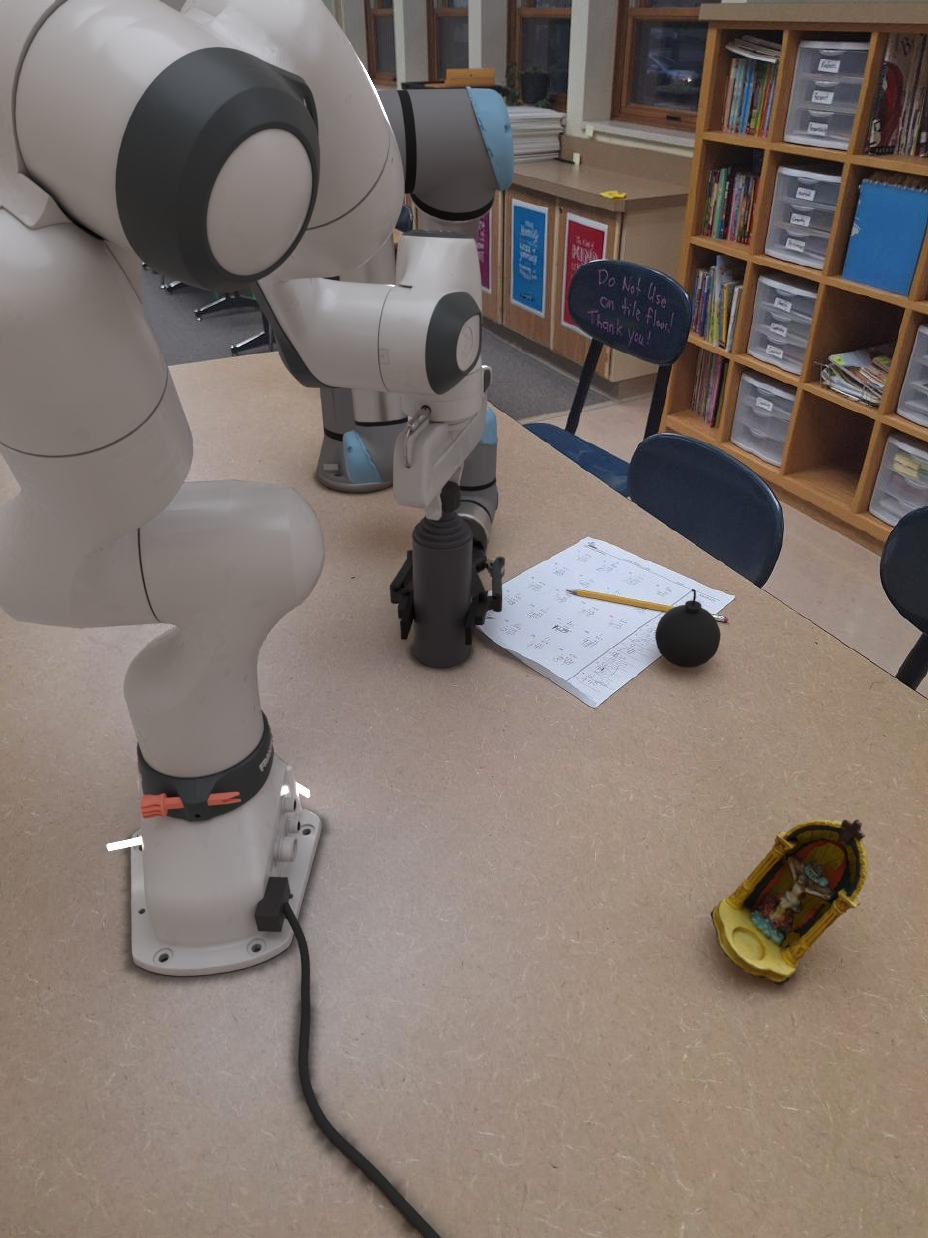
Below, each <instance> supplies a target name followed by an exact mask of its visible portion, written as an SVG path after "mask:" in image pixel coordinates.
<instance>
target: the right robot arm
mask: <svg viewBox="0 0 928 1238" xmlns="http://www.w3.org/2000/svg"><path fill="white" fill-rule="evenodd" d="M376 92H377V95H378V97H379V99H380V102H381V104H382V106H383V109H384V111H385V114H386V116H387V119H388V121H389V123H390V126H391V128H392V131H393V133H394V136H395V139H396V142H397V145H398V148H399V152H400V156H401V160H402V166H403V173H404V186H405V190H404V195H409V198H410V201H411V202H412V204H413V206H414V207H415V208H416V209H417V210H418V211H419V212H418V225H417V226H418V227H417V230H438V231H455V232H462V233H465V234H468V235H469V236H470V237H472V238H473V239H474V240H475V242H476V246H477V245H478V237H479V231H480V223H481V219H482V218H483V217H485V216H486V215H487V214H488V213H490V211H491V210H492V208H493V206H494V201H495V196H496V191H497V190H498V191H499V192H503V191H505V190H508V189H510V187H511V185H513V181H514V174H515V173H514V172H515V150H514V149H515V147H514V140H513V139H514V138H513V130H512V126H511V120H510V115H509V112H508V111H509V110H508V108H507V105H506V102H505V100H504V99H503V97H502V95H501V94H500V93H499V92H498V91H497V90H495V89H492V88H476V87H475V88H474V87H473V88H472V87H471V86H468V85H467V86H465V88H430V89H429V88H428V89H427V88H425V89H423V88H422V89H420V88H419V89H416V88H415V89H395V88H388V89H381V90H376ZM477 247H478V246H477ZM395 252H396V251H395V239H394V231H393V232H392V233H391V235H390V237H389V238H388V240H387V241H386V242H385V244H384V245H383V246H382V247H381V249H380V250H379V251H378V252H377V253H376V254H375V255H374V256H373V257H372V258H371V259H370V260H368V261H367V262H366V263H364V264H363V265H361V266H360V267H358V268H357V269H355V270H353V271H351V272H348V273H346V274H343V275H339V276H338V277H339V281H345V282H358V283H372V284H386V285H395V277H396V253H395ZM319 394H320V405H321V416H322V426H323V439H322V443H321V448H320V451H319V455H318V460H317V466H316V468H317V469H316V470H317V478H318V480H319V482H320V483H321V484H322V485H323V486H325V487H327V488H329V489H331V490H334V491H337V492H342V493H354V494H355V493H357V494H358V493H371V492H375V491H380V490H383V489H386V488H389V487H391V486H393V459H394V448H395V443H396V440H397V437H398V436H399V434H400V433H401V432H402V431H403V430H404V429H405V426H406V423H407V422H408V421H409V416H408V415H406V414H405V413H403V411H402V410H401V408H400V394H399V393H396V392H393V393H392V392H382V391H372V390H362V389H352V388H342V387H340V388H319ZM498 438H499V437H498V424H497V414H496V413H495V411H494V409H492V408H491V407H490V406H488V405H487V415H486V425H485V430H484V434H483V437H482V439H481V440H480V442H479V443H478V444H477V445H476V447H475V448H474V449H473V450H472V452H471V453H470V454H469V455H468V457H467V458H466V459H465V460H464V466H463V471H462V475H461V479H460V493H461V504H460V507H459V508H458V509H457V510H455V512H456V513H457V514H458V515H459V516H460V517H461V518H462V519H463V520H464V521H465V522H466V523H467V524H468V525H469V527H470V529H471V531H472V534H473V541H472V579H471V605H470V609H469V613H468V617H467V621H466V626H465V645H470V646H472V644H473V643H472V642H473V639H474V635H475V631H476V626H479V627H483V626H484V625H485V623H486V619H487V613H488V612H490V611H493V612H494V613H500V612H502V611H503V578H504V576H505V572H506V571H505V570H506V558H505V557H504V556H497V557H495V559H489V558H488V557H487V550H488V546H489V545H488V544H489V543H490V537H491V532H492V527H493V524H494V519H495V516H496V511H497V510H498V506H499V488H498V485H497V458H498V457H497V455H498V442H499V439H498ZM485 570H487V573H488V574H489V577H490V578H491V595H489V590H486V588H485V586H484V584H483V582H482V579H481V578H480V575H479V574H480V573H482V572H484V571H485ZM389 596H390V597H389V598H390V603H391V604H392V605H397V618H398V619H400V621H399V627H400V640H401V641H402V640H403V641H408V638H409V636H410V632H411V629H412V626H413V624H414V598H413V551H412V549H408V550H407V551H406V559H405V561H404V562H403V564H402V566H401V567H400V568H399V570H398V572H397V573H396V575H395V576H394V578H393V580H392V581H391V583H390V585H389Z"/></svg>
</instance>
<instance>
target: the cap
mask: <svg viewBox="0 0 928 1238" xmlns="http://www.w3.org/2000/svg"><path fill="white" fill-rule="evenodd" d="M440 499H441V501H444V513H449V512H453V511H455V510H457V509H458V508H459V507H460V504H461V493H460V486H459V485H458V484H457V483H455V482H452V481H447V483H446V484H445V485H444V486H443V488H442V492H441V494H440Z"/></svg>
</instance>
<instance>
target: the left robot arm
mask: <svg viewBox="0 0 928 1238" xmlns="http://www.w3.org/2000/svg"><path fill="white" fill-rule="evenodd" d="M404 190H405V186H404V173H403V166H402V160H401V156H400V152H399V148H398V145H397V142H396V139H395V136H394V133H393V131H392V128H391V126H390V123H389V121H388V119H387V116H386V114H385V111H384V109H383V106H382V104H381V102H380V99H379V97H378V95H377V90H376V88H375V85H374V84H373V82H372V80H371V78H370V76H369V74H368V72H367V70H366V68H365V66H364V64H363V63H362V61H361V60H360V58H359V56H358V54H357V52H356V50H355V48H354V46H353V45H352V44H351V41H350V40H349V38H348V36H347V35H346V34H345V32H344V31H343V29H342V28H341V26H340V24H339V23H338V21H337V19H336V18H335V17H334V15H333V14H332V13H331V11H330V10H329V9H328V7H327V6H326V4H325V3H324V1H323V0H185V2H184V4H183V5H182V6H181V9H180V10H179V11H178V10H176V9H175V8H173V7H171V6H170V5H168V4H166V3H165V2H164V1H163V0H0V455H1V457H2V458H3V459H4V461H5V463H6V465H7V466H8V468H9V470H10V471H11V473H12V475H13V477H14V478H15V480H16V482H17V484H18V486H19V487H20V490H21V491H19V492H18V494H17V495H15V496H14V497H12V498H11V499H9V500H7V501H5V502H4V503H2V504H1V505H0V608H1V609H2V611H3V612H4V613H5V614H7V615H8V616H9V617H10V618H12V619H13V620H15V621H16V622H22V623H28V624H36V625H42V626H49V627H50V626H51V627H60V628H69V629H71V628H72V629H78V630H79V629H80V630H81V629H83V630H84V629H95V628H96V629H97V628H98V629H99V628H112V627H127V626H142V625H156V624H157V625H158V624H164V625H173V627H171V628H169V629H168V630H166V631H164V632H162V633H161V634H159V635H157V636H156V637H154V638H152V640H150V641H149V642H147V644H146V645H145V646H144V647H142V649H141V650H139V652H138V653H137V654H135V656H134V658H133V659H132V660H131V662H130V663H129V665H128V667H127V669H126V671H125V675H124V680H123V681H124V682H123V697H124V701H125V703H126V707H127V711H128V714H129V717H130V721H131V724H132V727H133V730H134V733H135V736H136V740H137V743H136V744H137V745H136V756H137V758H136V759H137V762H136V763H137V772H138V778H137V780H136V782H135V783H136V785H137V788H138V791H139V807H140V810H139V811H140V828H139V829H137V830H136V831H135V832H134V833H133V834H132V836H131V838H130V839H126V840H121V841H116V842H112V843H106V848H107V850H108V852H110V851H111V852H112V851H114V850H120V849H125V848H129V847H130V916H131V917H130V924H131V925H130V926H131V927H130V928H131V931H130V933H131V934H130V935H131V955H132V960H133V963H134V965H136V966H137V967H139V968H140V969H143V970H146V971H148V972H150V973H153V974H160V975H164V976H174V977H175V976H176V977H194V976H206V975H216V974H222V973H223V974H224V973H228V972H234V971H238V970H243V969H246V968H250V967H253V966H256V965H258V964H261V963H264V962H266V961H268V960H271V959H272V958H274V957H276V956H278V955H280V954H281V953H282V952H284V951H285V950H287V949H288V948H289V947H290V945H291V944H292V942H293V941H292V940H293V937H295V940H296V943H297V947H298V950H299V957H300V1005H301V1006H300V1028H299V1029H300V1030H299V1039H298V1040H299V1042H298V1073H299V1074H298V1075H299V1081H300V1085H301V1089H302V1090H301V1091H302V1094H303V1097H304V1100H305V1103H306V1106H307V1107H308V1110H309V1112H310V1114H311V1116H312V1118H313V1120H314V1121H315V1123H316V1124H317V1126H318V1128H319V1129H320V1130H321V1132H322V1133H323V1134H324V1136H325V1137H326V1138H327V1139H328V1140H329V1141H330V1142H331V1143H332V1145H334V1146H335V1147H336V1149H338V1150H339V1151H340V1152H341V1153H342V1154H343V1155H344V1156H345V1157H346V1158H347V1159H348V1160H350V1162H352V1163H353V1164H354V1165H355V1166H356V1167H357V1168H358V1169H359V1170H360V1171H361V1172H363V1173H364V1174H365V1176H366V1177H368V1178H369V1180H370V1181H371V1182H372V1183H373V1184H374V1185H375V1187H377V1188H378V1190H380V1192H381V1193H382V1194H383V1195H384V1196H385V1197H386V1198H387V1199H388V1200H389V1202H390V1203H391V1204H392V1205H393V1206H394V1207H395V1208H396V1209H397V1210H398V1212H399V1213H400V1214H401V1215H402V1216H403V1217H404V1218H405V1219H406V1221H408V1222H409V1223H410V1225H411V1226H412V1227H413V1228H415V1230H416V1231H417V1232H418V1233H419V1234H420V1235H421V1236H422V1237H423V1238H442V1237H441V1235H440V1234H439V1233H438V1232H437V1231H436V1230H435V1229H434V1228H433V1227H432V1226H431V1225H430V1223H428V1222H427V1221H426V1219H424V1217H423V1216H421V1214H419V1212H418V1211H417V1210H416V1209H415V1208H414V1207H413V1206H412V1205H411V1203H409V1202H408V1201H407V1200H406V1198H405V1197H404V1196H403V1195H402V1194H401V1193H400V1192H399V1191H398V1190H397V1188H396V1187H395V1186H394V1185H392V1183H391V1182H390V1181H389V1180H388V1179H387V1178H386V1176H384V1174H383V1173H382V1172H381V1171H380V1170H379V1169H378V1168H377V1167H376V1166H375V1165H374V1164H373V1163H372V1162H371V1161H370V1160H369V1159H367V1158H366V1157H365V1155H363V1153H361V1152H360V1151H359V1150H358V1149H357V1148H356V1147H354V1146H353V1144H351V1143H350V1142H349V1141H348V1140H347V1139H346V1138H345V1137H344V1136H342V1135H341V1133H340V1132H339V1131H338V1130H337V1129H336V1128H335V1127H334V1126H333V1124H332V1123H331V1122H330V1120H329V1119H328V1117H327V1116H326V1115H325V1114H324V1111H323V1110H322V1108H321V1106H320V1104H319V1102H318V1099H317V1098H316V1094H315V1092H314V1088H313V1085H312V1082H311V1077H310V1071H309V1070H310V1067H309V1046H310V1043H309V1042H310V1031H311V960H310V951H309V947H308V943H307V939H306V937H305V933H304V931H303V929H302V926H301V924H300V922H299V921H298V920H299V916H300V912H301V908H302V905H303V902H304V897H305V893H306V889H307V886H308V882H309V878H310V874H311V871H312V867H313V864H314V860H315V857H316V853H317V850H318V846H319V841H320V838H321V834H322V828H323V825H322V822H321V818H320V817H319V816H318V815H317V814H316V813H315V812H312V811H310V810H309V809H306V808H303V805H302V802H301V796H300V794H301V795H302V796H305V798H310V797H311V793H310V789H308V788H306V787H305V786H304V785H302V784H300V783H298V782H297V779H296V776H295V772H294V771H295V770H294V768H293V766H291V765H290V764H289V763H288V762H287V761H286V760H284V759H283V758H281V757H280V756H279V755H278V753H276V752H275V749H274V739H273V738H274V737H273V732H272V728H271V726H270V723H269V720H268V718H267V715H266V714H265V712H264V710H263V709H262V705H261V697H260V690H259V680H258V679H259V678H258V662H259V656H260V652H261V648H262V646H263V644H264V642H265V640H266V638H267V637H268V635H269V634H270V633H271V631H272V630H273V628H274V627H275V626H276V625H277V624H278V623H279V622H280V621H281V620H282V619H283V618H284V617H285V616H286V615H288V614H289V613H290V612H291V611H293V610H295V609H296V608H297V607H299V606H300V605H302V604H303V603H304V602H305V601H306V600H307V599H308V597H309V596H310V595H311V594H312V593H313V591H314V589H315V587H316V586H317V584H318V582H319V580H320V578H321V575H322V572H323V568H324V564H325V557H326V542H325V541H326V540H325V535H324V531H323V528H322V525H321V522H320V519H319V518H318V515H317V513H316V512H315V510H314V508H313V507H312V505H311V504H310V503H309V501H307V499H306V498H305V497H304V496H303V495H302V494H301V493H300V492H299V491H297V490H296V489H295V488H294V487H293V486H292V487H291V486H285V485H280V484H274V483H269V482H260V481H251V480H245V479H244V480H243V479H237V478H236V479H235V478H233V479H216V480H198V481H186V480H187V478H188V475H189V473H190V470H191V467H192V462H193V459H194V458H193V457H194V439H193V434H192V430H191V428H190V424H189V421H188V419H187V417H186V413H185V410H184V408H183V405H182V402H181V399H180V396H179V393H178V391H177V388H176V386H175V383H174V380H173V377H172V373H171V371H170V369H169V365H168V363H167V360H166V356H165V355H164V352H163V350H162V347H161V344H160V342H159V339H158V337H157V334H156V332H155V329H154V328H153V325H152V323H151V320H150V319H149V317H148V315H147V312H146V310H145V308H144V306H143V304H144V297H143V288H142V266H143V263H144V264H145V265H146V266H147V267H149V268H150V269H151V270H153V271H155V272H157V273H158V274H161V275H163V276H165V277H167V278H170V279H171V280H174V281H177V282H179V283H182V284H185V285H187V286H191V287H193V288H197V289H201V290H204V291H209V292H212V293H213V292H214V293H222V294H223V293H224V294H227V293H234V292H237V291H241V290H243V289H245V288H247V287H249V289H250V291H251V293H252V295H253V296H254V298H255V300H256V302H257V304H258V305H259V308H260V309H261V312H262V313H263V315H264V317H265V318H266V320H267V322H268V325H269V326H270V328H271V330H272V332H273V336H274V341H275V345H276V349H277V353H278V355H279V357H280V360H281V362H282V363H283V365H284V367H285V368H286V370H287V371H288V372H289V374H290V375H291V376H292V377H293V378H294V379H295V380H296V381H297V382H298V383H299V384H300V385H302V386H303V387H306V388H308V389H309V388H311V389H315V388H317V389H320V388H340V387H342V388H352V389H362V390H372V391H382V392H392V393H393V392H396V393H399V394H400V408H401V410H402V411H403V413H405V414H406V415H408V417H410V418H409V419H408V422H407V423H406V426H405V429H404V430H403V431H402V432H401V433H400V434H399V436H398V437H397V440H396V443H395V448H394V459H393V485H392V489H393V490H392V493H393V499H394V501H396V503H397V504H398V505H399V506H402V507H403V506H404V507H408V508H415V509H424V517H425V516H426V518H428V519H431V520H439V519H440V518H441V516H442V515H443V514H444V501H441V499H440V494H441V492H442V488H443V486H444V485H445V484H446V483H447V481H452V482H455V483H457V484H458V485H459V486H460V479H461V475H462V471H463V466H464V460H465V459H466V458H467V457H468V455H469V454H470V453H471V452H472V450H473V449H474V448H475V447H476V445H477V444H478V443H479V442H480V440H481V439H482V437H483V434H484V430H485V425H486V415H487V406H488V401H489V400H488V399H489V398H488V397H489V391H488V389H489V388H490V386H491V385H492V382H493V369H492V367H491V366H489V365H483V358H482V357H483V356H482V354H481V353H482V346H483V345H482V341H483V286H482V275H481V265H480V258H479V251H478V246H476V242H475V240H474V239H473V238H472V237H470V236H469V235H468V234H465V233H462V232H455V231H438V230H418V229H410V230H407V231H405V232H403V233H401V234H400V235H399V237H398V242H397V250H396V258H395V263H396V277H395V285H386V284H372V283H358V282H345V281H340V280H336V279H335V280H334V279H328V278H333V277H339V275H343V274H346V273H348V272H351V271H353V270H355V269H357V268H358V267H360V266H361V265H363V264H364V263H366V262H367V261H368V260H370V259H371V258H372V257H373V256H374V255H375V254H376V253H377V252H378V251H379V250H380V249H381V247H382V246H383V245H384V244H385V242H386V241H387V240H388V238H389V237H390V235H391V233H392V232H393V233H394V229H395V228H396V226H397V223H398V221H399V219H400V215H401V213H402V209H403V204H404V199H405V194H404ZM257 949H258V951H256V952H255V950H257ZM259 949H260V950H259ZM165 959H167V960H165ZM163 960H165V961H163ZM162 961H163V962H162Z"/></svg>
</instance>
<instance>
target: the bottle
mask: <svg viewBox="0 0 928 1238" xmlns="http://www.w3.org/2000/svg"><path fill="white" fill-rule="evenodd" d="M411 533H412V534H411V544H412V546H411V547H412V549H411V550H412V551H413V598H414V620H413V638H414V639H413V640H414V642H413V643H414V654H415V657H416V658H417V659H418V661H419V662H421V663H423V664H424V665H426V666H429V667H431V668H438V669H447V668H453V667H455V666H459V665H461V664H462V663H464V662H465V661H466V660H467V659H468V658H469V656H470V653H471V652H470V651H471V645H465V626H466V621H467V617H468V613H469V609H470V605H471V600H472V596H471V579H472V541H473V534H472V531H471V529H470V527H469V525H468V524H467V523H466V522H465V521H464V520H463V519H462V518H461V517H460V516H459V515H458V514H457V513H456V512H455V511H453V512H449V513H444V514H443V515H442V516H441V518H440V519H439V520H431V519H428V518H426V516H425V515H424V516H423V518H421V520H420V521H419V522H418V523H417V524H416V525H415V526H414V528H413V530H412V532H411Z"/></svg>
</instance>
